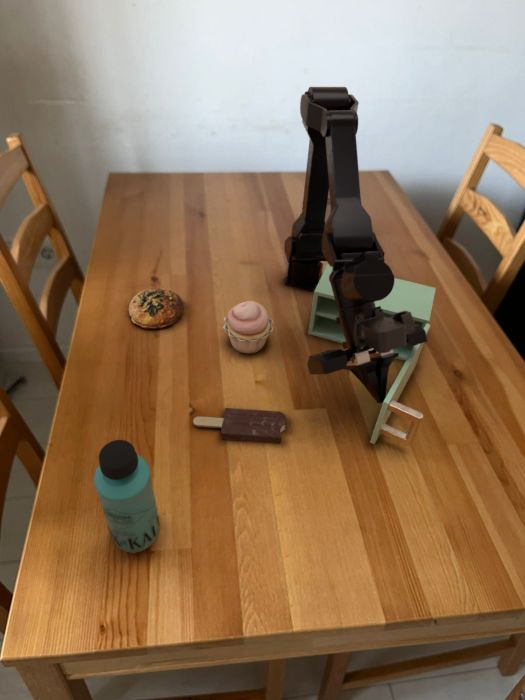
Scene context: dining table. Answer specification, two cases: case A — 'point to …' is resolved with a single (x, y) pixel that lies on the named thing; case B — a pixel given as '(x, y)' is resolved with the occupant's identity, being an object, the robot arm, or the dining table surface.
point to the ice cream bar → (247, 424)
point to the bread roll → (155, 308)
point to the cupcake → (248, 327)
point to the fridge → (398, 300)
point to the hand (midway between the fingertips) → (381, 402)
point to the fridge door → (400, 409)
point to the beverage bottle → (127, 496)
